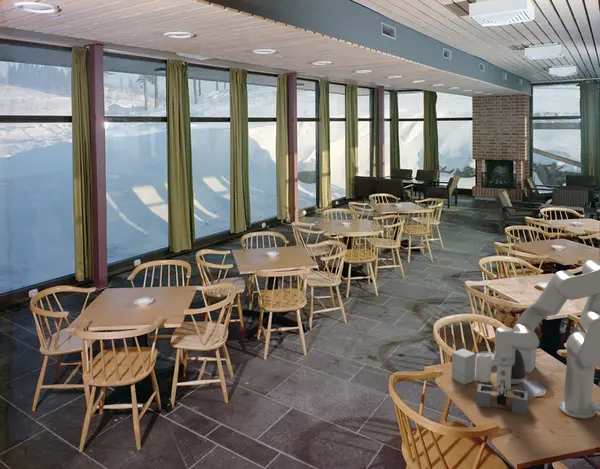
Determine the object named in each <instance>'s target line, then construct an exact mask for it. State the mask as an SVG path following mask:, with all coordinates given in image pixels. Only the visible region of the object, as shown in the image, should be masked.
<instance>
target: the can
mask: <svg viewBox="0 0 600 469" xmlns="http://www.w3.org/2000/svg"><path fill="white" fill-rule="evenodd" d="M488 352H489V351H478V352H477V353H476V360H475V380H476V381H477V382H479V383H481V384H484V383H485V384H487V383H489V382H490V381H491V380H492V379H491V378H492V377H491V376H492V367H491V362H492V358H491V354H490V353H488Z"/></svg>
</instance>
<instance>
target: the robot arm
mask: <svg viewBox="0 0 600 469" xmlns="http://www.w3.org/2000/svg"><path fill="white" fill-rule="evenodd" d="M581 268H582V269H581V272H582V274H578V275H575V274H573V273H572V272H570V271H567V270H559V271H556V272H555V273H554V274H553V276H552V277H551V279H550V280H549V282H548V283H547V284H546V286H545V287H544V288H543V290H542V292H541V293H540V295H539V297H538V298H537V299H536V301H535V302H534V303H532V304H531V305H530V306H529V307H527V308H526V309H525V310H524V311H523V312H522V313H521V315H520V316H519V318H518V319H517V321H516V322H515V324H514V325H513V328H512V327H509V326H499V327H498V328H496V330H495V332H494V333H495V336H494V353H493V354H494V362H495V365H496V388H497V389H498V390H497V392H498V395H497V404H499V405H504V406H505V405H506V393H508V391H510V390H511V385H512V384H511V373H512V365H514V364H515V349H520V350H524V351H533V350H535V349H536V350H537V349H538V347H539V346H540V339H539V337H538V335H537V334H536V332H535V329H536V328H537V327H538V325H539V324H540V323H541V321H542V320H544V319H546V318H548V317H552V316H557V315H558V314H559V313H560V311H561V309H562V308H563V307H564V305H565V304H566V302H567V301H568V300H570V301H571V300H580V299H584V298H587V299H586V302H585V305H584V307H583V309H582V312H581V315H580V316H579V324H580V326H581V328H582V329H583V330H584V331H585V332H584V331H575V332H573V333H571V334H570V335H569V337H567V340H566V369H565V370H566V371H565V380H564V390H563V391H564V392H563V399H562V400H560V401H559V403H558V409H559V410H560V411H561V412H562V413H564V414H565V415H567V416H569V417H572V418H577V419H591V418H593V417H594V416H595V415H596V412H600V403H595V402H594V401H593V392H594V390H593V389H594V379H595V378H594V377H595V369H597V368H599V367H600V260H598V259H588V260H587V261H585V262H584V263H583V265H582V267H581Z"/></svg>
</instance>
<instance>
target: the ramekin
mask: <svg viewBox="0 0 600 469" xmlns="http://www.w3.org/2000/svg"><path fill="white" fill-rule="evenodd" d="M487 352H488V353H490V354H491V358H492V362H491V368H493V367H495V366H496V363H495V362H494V353H493V352H491V351H487Z"/></svg>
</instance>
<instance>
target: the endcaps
mask: <svg viewBox="0 0 600 469" xmlns="http://www.w3.org/2000/svg"><path fill="white" fill-rule="evenodd" d="M483 390H488V391H493V385H489V384H484V383H478V385H477V390H476V404H475V405H476V406H478V407H479V406H480V407H484V408H491V406H490V404H491V393H490V392H484V391H483ZM512 394H517V395H520V397H521V398H519V397H513V402H512V409H511V412H512V413H517V414H523V415H527V412H528V411H527V410H528V408H527V407H528V391H524V390H520V389H519V390H518V389H513V391H512Z"/></svg>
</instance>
